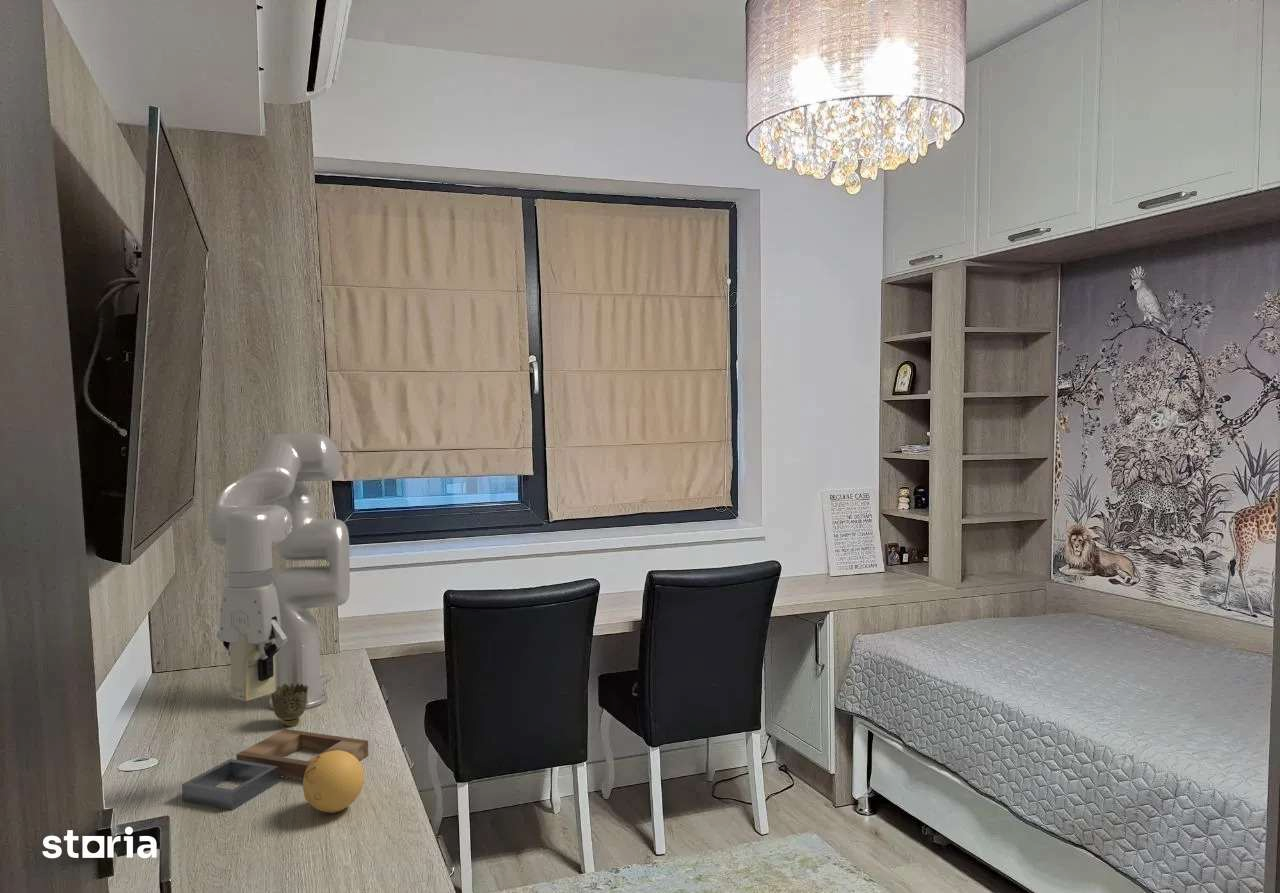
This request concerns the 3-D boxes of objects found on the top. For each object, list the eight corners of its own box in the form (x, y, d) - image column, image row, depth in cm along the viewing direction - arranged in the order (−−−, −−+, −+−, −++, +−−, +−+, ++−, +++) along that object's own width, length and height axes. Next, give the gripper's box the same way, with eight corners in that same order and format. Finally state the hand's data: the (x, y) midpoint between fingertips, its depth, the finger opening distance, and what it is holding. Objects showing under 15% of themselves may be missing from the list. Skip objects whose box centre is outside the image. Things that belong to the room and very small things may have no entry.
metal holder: (230, 774, 158) (230, 758, 158) (278, 782, 155) (278, 766, 154) (182, 800, 148) (181, 784, 147) (232, 810, 144) (232, 793, 144)
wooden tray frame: (285, 743, 172) (285, 728, 172) (368, 755, 166) (368, 740, 166) (236, 769, 160) (236, 754, 160) (324, 784, 154) (324, 767, 154)
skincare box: (245, 702, 150) (244, 635, 150) (230, 698, 152) (228, 631, 152) (276, 692, 156) (275, 627, 155) (261, 687, 158) (259, 623, 157)
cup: (295, 732, 178) (294, 695, 178) (264, 730, 179) (263, 693, 179) (315, 719, 185) (314, 683, 185) (285, 717, 187) (284, 681, 186)
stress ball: (371, 807, 147) (353, 757, 152) (371, 782, 140) (353, 730, 146) (311, 831, 142) (296, 779, 147) (309, 806, 135) (293, 752, 141)
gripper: (195, 580, 152) (199, 679, 153) (274, 585, 147) (277, 688, 148) (227, 572, 159) (230, 667, 160) (303, 577, 154) (305, 675, 155)
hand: (252, 676), depth 154 cm, fingers closed on skincare box, 5 cm apart
